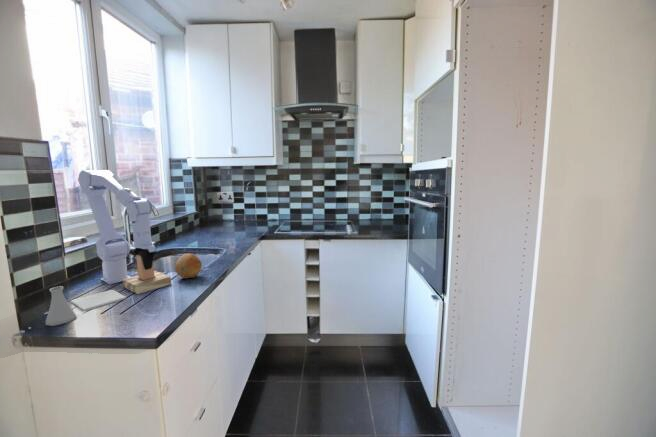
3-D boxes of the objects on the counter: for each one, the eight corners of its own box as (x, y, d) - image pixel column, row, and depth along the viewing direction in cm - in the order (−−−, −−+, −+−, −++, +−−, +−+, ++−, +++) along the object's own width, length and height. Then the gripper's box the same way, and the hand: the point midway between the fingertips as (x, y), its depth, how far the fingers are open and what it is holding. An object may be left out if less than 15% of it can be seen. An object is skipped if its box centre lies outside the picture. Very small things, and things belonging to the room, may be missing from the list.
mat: (71, 302, 106) (71, 300, 106) (112, 290, 115) (112, 289, 115) (83, 311, 98) (83, 309, 98) (126, 298, 108) (126, 296, 108)
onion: (173, 283, 122) (171, 258, 121) (179, 275, 132) (177, 251, 130) (200, 280, 124) (198, 256, 123) (203, 273, 134) (202, 250, 133)
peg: (138, 278, 119) (136, 255, 118) (149, 275, 122) (147, 252, 121) (143, 280, 117) (140, 256, 115) (154, 277, 120) (152, 254, 119)
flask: (81, 318, 94) (77, 286, 92) (51, 329, 88) (45, 294, 86) (70, 313, 97) (66, 282, 96) (40, 323, 91) (35, 290, 90)
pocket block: (123, 287, 119) (122, 279, 118) (156, 278, 128) (155, 270, 128) (137, 294, 112) (136, 286, 111) (171, 284, 121) (170, 276, 121)
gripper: (162, 232, 116) (165, 268, 118) (144, 228, 124) (147, 262, 126) (141, 236, 110) (145, 273, 112) (124, 231, 119) (128, 266, 121)
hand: (145, 267), depth 119 cm, fingers closed on peg, 4 cm apart
